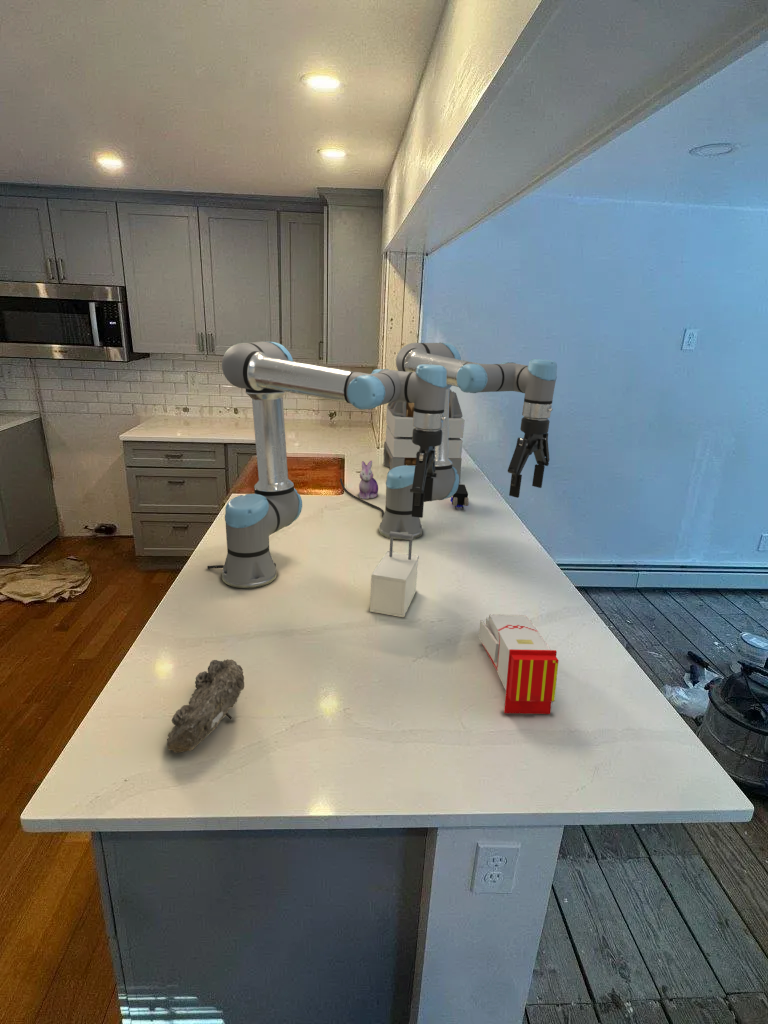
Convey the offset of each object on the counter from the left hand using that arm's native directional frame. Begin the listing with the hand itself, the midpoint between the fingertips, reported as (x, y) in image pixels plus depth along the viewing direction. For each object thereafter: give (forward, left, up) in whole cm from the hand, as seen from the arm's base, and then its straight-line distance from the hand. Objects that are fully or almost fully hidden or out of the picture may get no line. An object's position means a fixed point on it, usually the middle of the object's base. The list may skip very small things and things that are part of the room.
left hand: (422, 508), depth 149 cm
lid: (-5, -5, -16) cm, 17 cm away
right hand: (+26, +22, +1) cm, 34 cm away
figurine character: (0, +81, -26) cm, 85 cm away
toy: (+28, -29, -26) cm, 47 cm away
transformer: (-24, +122, -26) cm, 127 cm away
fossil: (-27, -61, -26) cm, 72 cm away
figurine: (-37, +78, -26) cm, 91 cm away
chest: (-5, -6, -26) cm, 27 cm away
